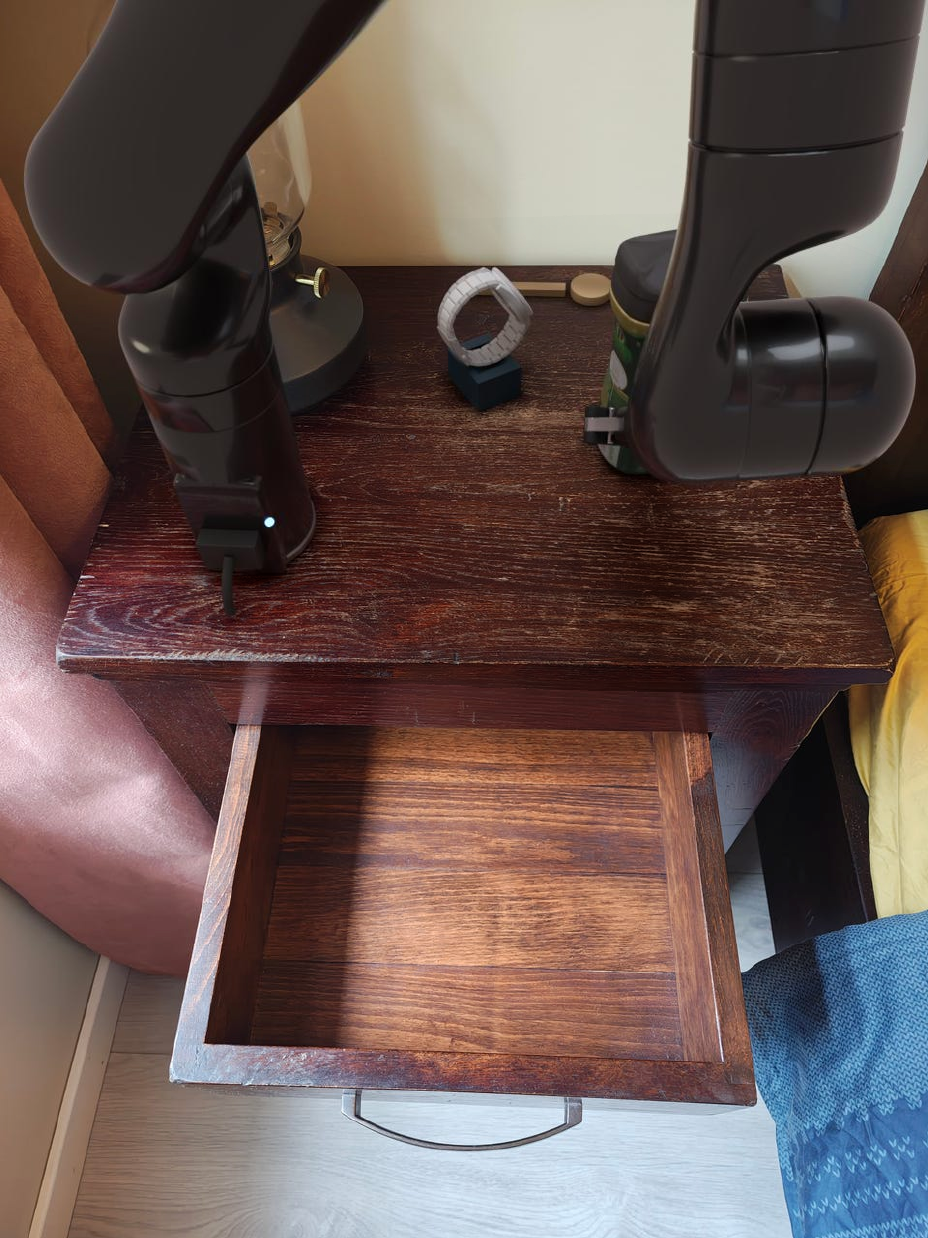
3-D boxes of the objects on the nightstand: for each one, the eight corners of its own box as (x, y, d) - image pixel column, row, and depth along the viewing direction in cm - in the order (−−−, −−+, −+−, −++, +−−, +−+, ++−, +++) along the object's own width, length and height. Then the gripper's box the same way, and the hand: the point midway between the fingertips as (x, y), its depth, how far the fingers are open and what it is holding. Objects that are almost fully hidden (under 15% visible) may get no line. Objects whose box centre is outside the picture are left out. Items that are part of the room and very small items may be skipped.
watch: (539, 387, 82) (545, 278, 73) (461, 419, 79) (456, 310, 71) (507, 353, 84) (509, 244, 76) (431, 382, 82) (423, 274, 73)
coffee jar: (687, 403, 80) (731, 200, 65) (722, 465, 75) (779, 262, 60) (581, 422, 79) (601, 220, 64) (610, 487, 74) (639, 285, 59)
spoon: (611, 306, 88) (612, 297, 87) (472, 303, 89) (472, 294, 88) (610, 282, 90) (611, 273, 90) (475, 279, 91) (475, 270, 91)
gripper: (820, 355, 52) (751, 386, 69) (586, 349, 53) (575, 381, 70) (808, 488, 53) (742, 487, 70) (579, 480, 54) (569, 480, 71)
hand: (659, 434), depth 70 cm, fingers closed
